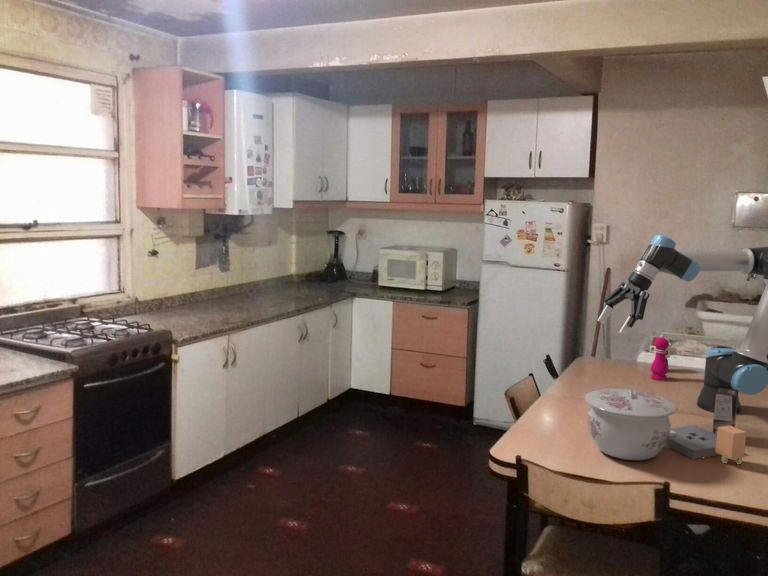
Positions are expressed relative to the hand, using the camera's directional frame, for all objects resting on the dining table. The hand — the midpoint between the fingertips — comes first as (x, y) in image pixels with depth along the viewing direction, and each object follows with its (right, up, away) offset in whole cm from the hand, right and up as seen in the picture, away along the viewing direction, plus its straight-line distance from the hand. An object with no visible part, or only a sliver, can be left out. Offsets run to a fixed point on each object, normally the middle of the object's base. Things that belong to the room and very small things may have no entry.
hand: (611, 328), depth 240 cm
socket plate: (+21, -37, -19) cm, 47 cm away
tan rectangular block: (+25, -39, -32) cm, 57 cm away
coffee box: (+34, -37, -11) cm, 51 cm away
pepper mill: (+41, -26, +60) cm, 77 cm away
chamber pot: (-4, -38, -26) cm, 46 cm away
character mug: (+48, -24, +74) cm, 91 cm away
